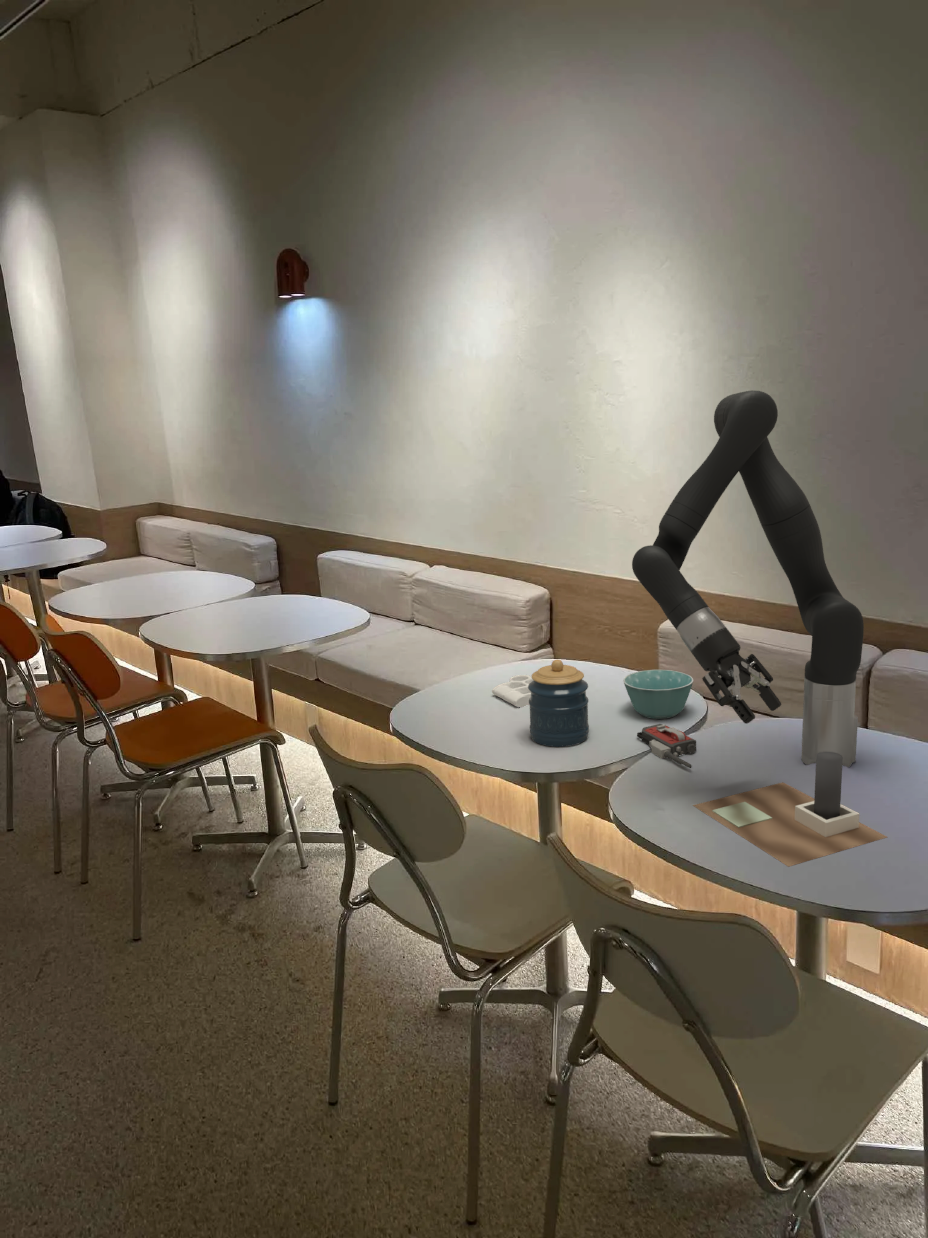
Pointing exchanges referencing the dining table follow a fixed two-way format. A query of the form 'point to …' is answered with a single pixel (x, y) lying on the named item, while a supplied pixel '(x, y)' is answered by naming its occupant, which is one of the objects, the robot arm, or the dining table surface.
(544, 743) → the canister
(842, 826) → the white square frame
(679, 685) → the bowl
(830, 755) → the plug
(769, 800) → the brown wooden flat board
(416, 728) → the dining table surface
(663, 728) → the walkie-talkie
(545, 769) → the dining table surface
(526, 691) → the white brass knuckles
